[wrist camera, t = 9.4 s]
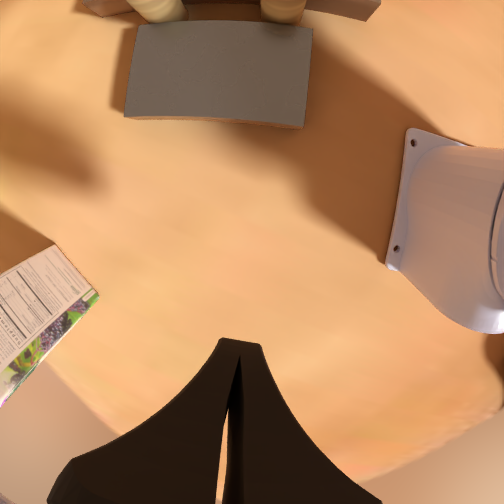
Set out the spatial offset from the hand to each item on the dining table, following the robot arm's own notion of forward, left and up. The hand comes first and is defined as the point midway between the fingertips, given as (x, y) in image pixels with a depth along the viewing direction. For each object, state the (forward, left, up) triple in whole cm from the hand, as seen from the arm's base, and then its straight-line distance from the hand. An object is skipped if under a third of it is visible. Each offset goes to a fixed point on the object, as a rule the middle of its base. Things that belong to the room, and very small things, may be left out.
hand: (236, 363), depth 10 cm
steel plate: (+12, +3, -10) cm, 16 cm away
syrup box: (-4, +15, -10) cm, 19 cm away
